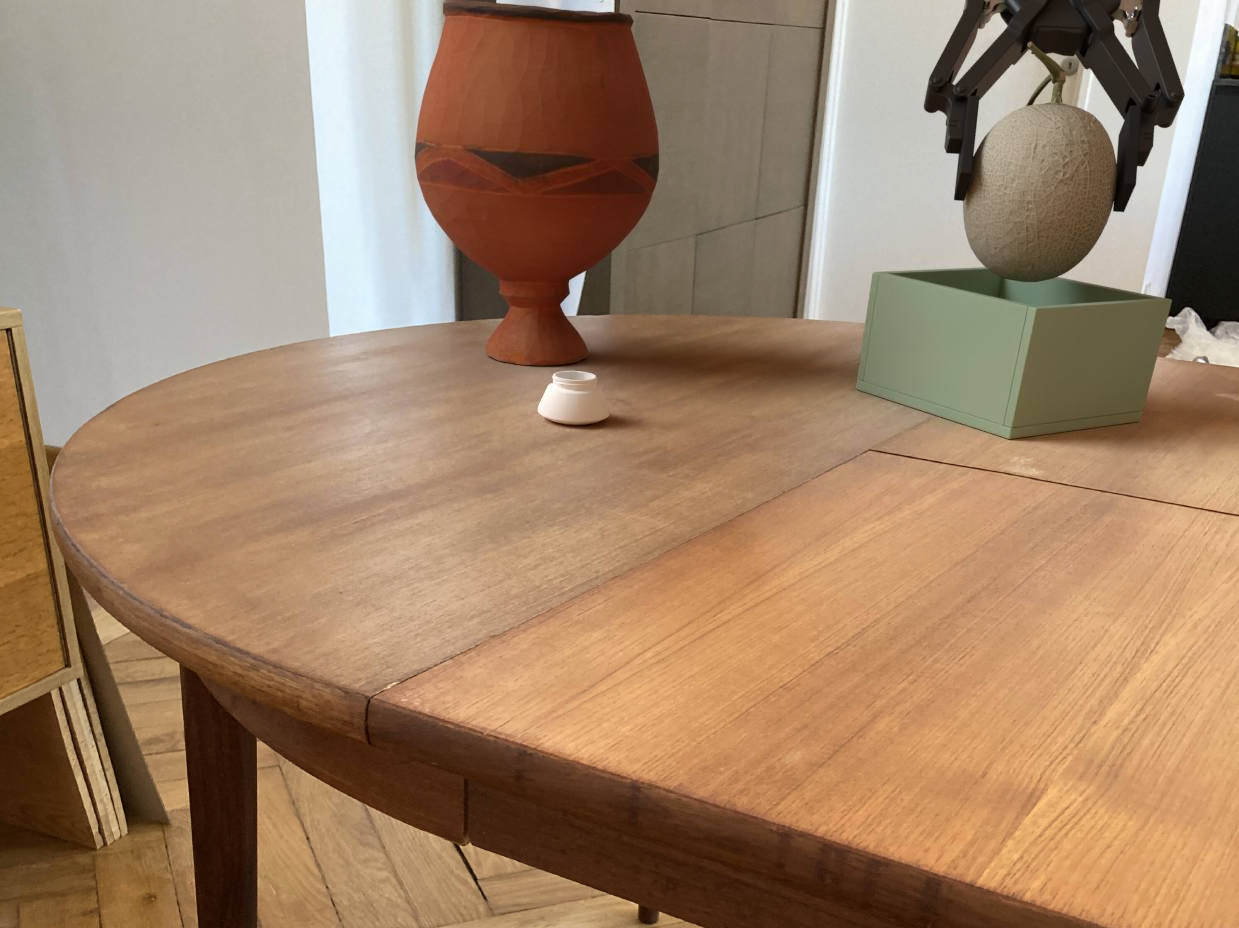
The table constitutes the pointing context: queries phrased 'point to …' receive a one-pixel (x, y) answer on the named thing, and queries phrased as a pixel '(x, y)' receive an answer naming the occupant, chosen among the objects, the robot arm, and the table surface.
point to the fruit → (1040, 187)
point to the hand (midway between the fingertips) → (1042, 192)
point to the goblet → (536, 156)
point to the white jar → (574, 399)
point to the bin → (1010, 349)
